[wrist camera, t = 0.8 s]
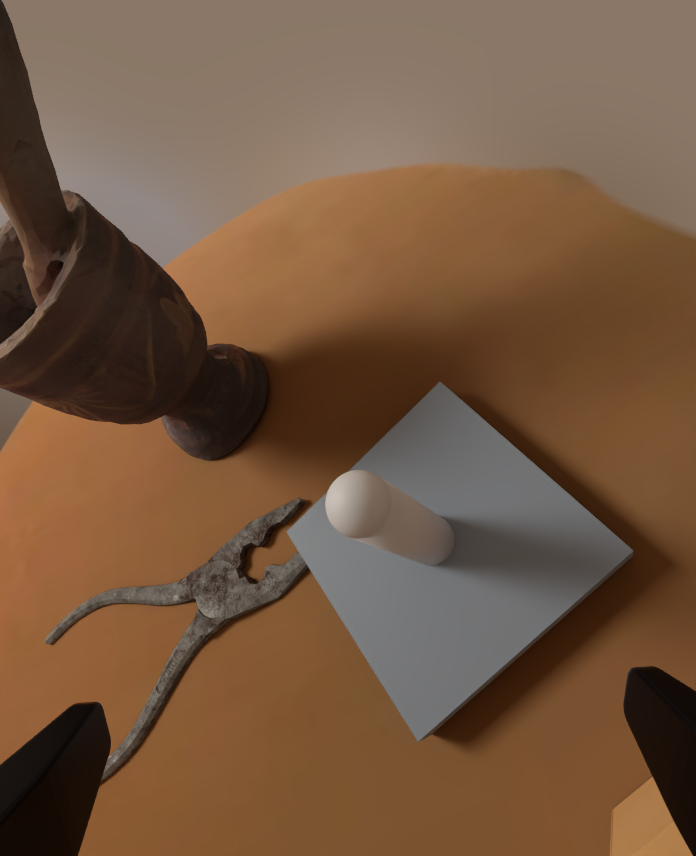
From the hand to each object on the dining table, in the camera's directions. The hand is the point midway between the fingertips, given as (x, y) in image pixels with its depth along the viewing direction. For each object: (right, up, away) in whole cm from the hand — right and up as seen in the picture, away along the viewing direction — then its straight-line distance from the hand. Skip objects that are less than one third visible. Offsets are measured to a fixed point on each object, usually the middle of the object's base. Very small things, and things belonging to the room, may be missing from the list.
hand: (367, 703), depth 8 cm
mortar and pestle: (-7, +7, +22) cm, 24 cm away
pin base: (+4, 0, +12) cm, 13 cm away
